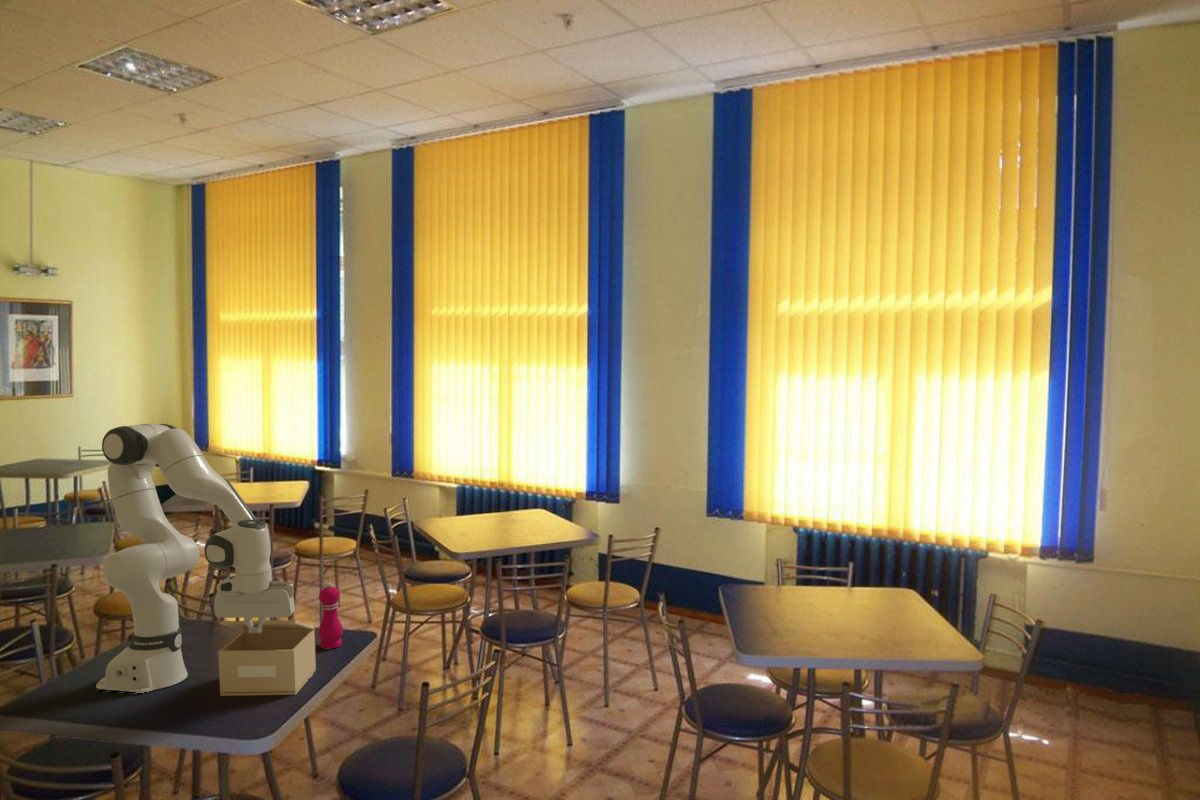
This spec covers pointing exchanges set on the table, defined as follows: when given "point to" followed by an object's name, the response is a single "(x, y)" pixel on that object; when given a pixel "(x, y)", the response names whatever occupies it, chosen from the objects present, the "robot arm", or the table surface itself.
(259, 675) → the carton
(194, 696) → the table surface
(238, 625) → the carton lid
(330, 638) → the pepper mill
